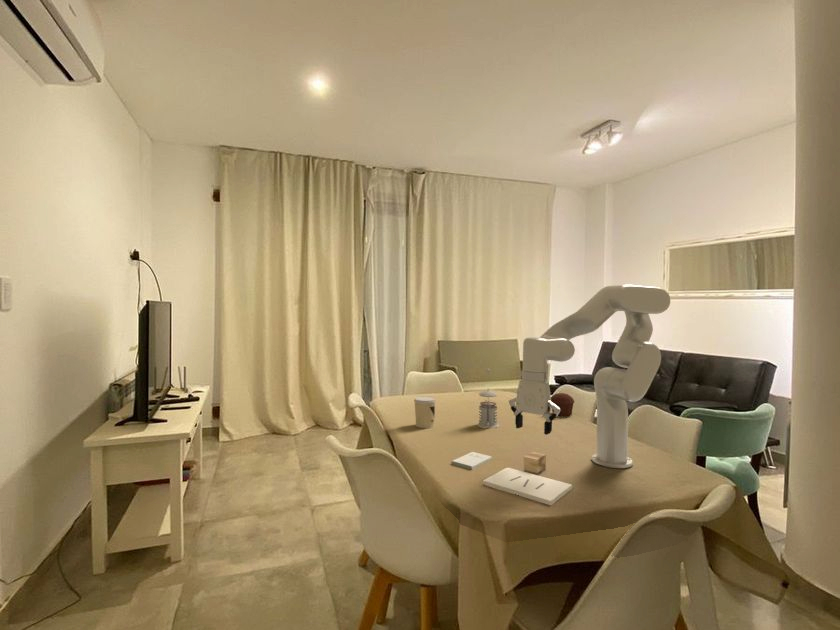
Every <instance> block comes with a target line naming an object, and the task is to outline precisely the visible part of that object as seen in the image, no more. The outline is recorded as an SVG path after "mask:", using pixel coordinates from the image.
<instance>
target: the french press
mask: <svg viewBox="0 0 840 630" xmlns="http://www.w3.org/2000/svg"><path fill="white" fill-rule="evenodd" d="M485 372H487V373H489V372H491V369H490V368H486V369H485ZM478 395H479V396H480V397H484V398H492V397H493V398H494V397H497V396H498V393H496V392H495V391H492V390H489V389H486V390H483V391H481V392H480V393H478ZM479 404H480V405H479V406H478V409H479V410H478V412H479V413H478V423H477V424H476V426H477V427H479V428H481V429H482V428H483V429H497V428H499V427H500V424H499V423H498V407H497V403H496V402H494V401H491V400H488V401H481V402H480V403H479ZM496 427H497V428H496Z"/></svg>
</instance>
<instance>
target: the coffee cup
mask: <svg viewBox="0 0 840 630" xmlns="http://www.w3.org/2000/svg"><path fill="white" fill-rule="evenodd" d="M413 401H414V413H415V426H416V427H417V428H420V429H431V428H433V427H434V425H435V416H436V415H435V414H436V413H435V412H436V401H437V400H436V399H435V397H432V396H417V397H415V398H414V400H413Z"/></svg>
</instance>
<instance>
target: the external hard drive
mask: <svg viewBox="0 0 840 630" xmlns="http://www.w3.org/2000/svg"><path fill="white" fill-rule="evenodd" d="M491 459H492V460H493V457H492V456H491V455H489V454H483V453H479V452H475V451H470V452H468V453H467V454H464V455H462V456H459V457H456V459H453V460H451V462H450V464H451V465H453V466H457V467H461V468H464V469H468V470H470V471H471V470H475V469H477V468H478V467H480V466H482V465H484V464H486V463H488V462H490V461H491Z"/></svg>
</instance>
